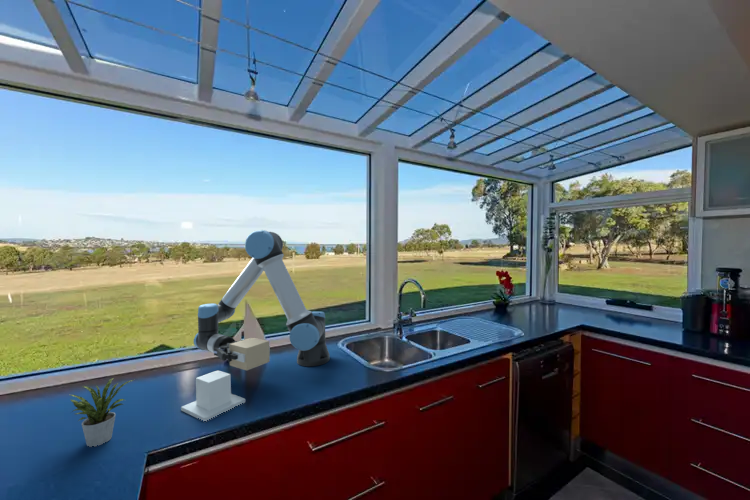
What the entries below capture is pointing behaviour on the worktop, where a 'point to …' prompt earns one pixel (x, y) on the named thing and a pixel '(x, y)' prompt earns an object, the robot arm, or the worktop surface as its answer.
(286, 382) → the worktop surface
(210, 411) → the white serrated base block
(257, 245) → the robot arm
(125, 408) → the worktop surface
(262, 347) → the beige cubic block
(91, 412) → the house plant
